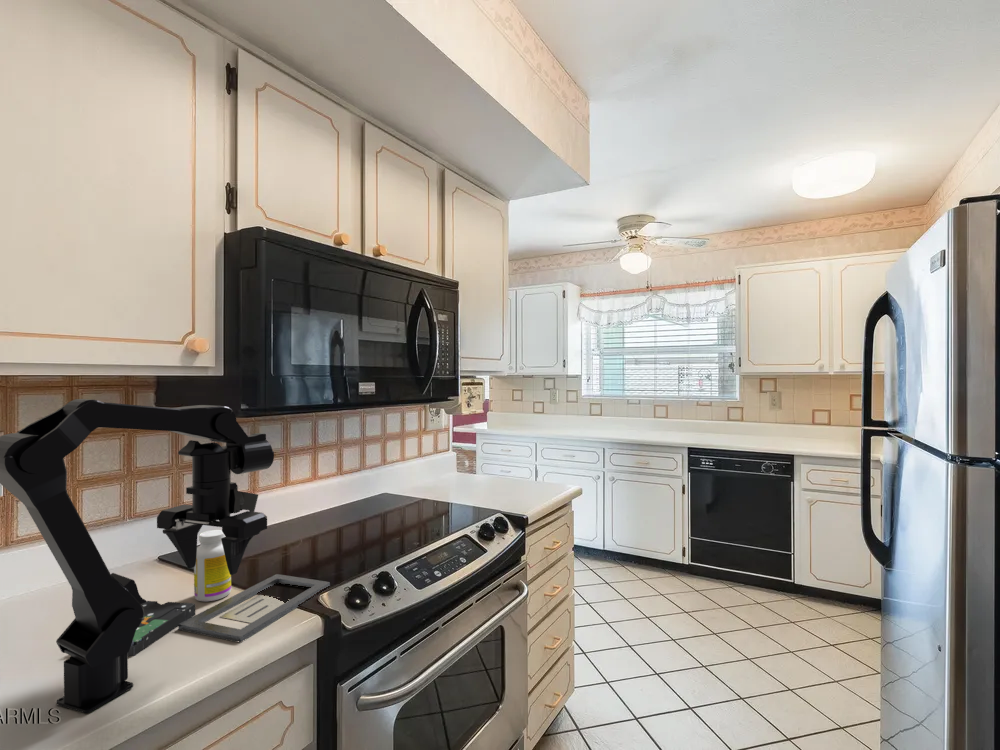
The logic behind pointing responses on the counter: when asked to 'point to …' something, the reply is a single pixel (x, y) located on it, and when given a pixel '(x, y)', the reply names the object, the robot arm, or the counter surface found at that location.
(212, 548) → the supplement bottle
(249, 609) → the label panel
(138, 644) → the disk drive
